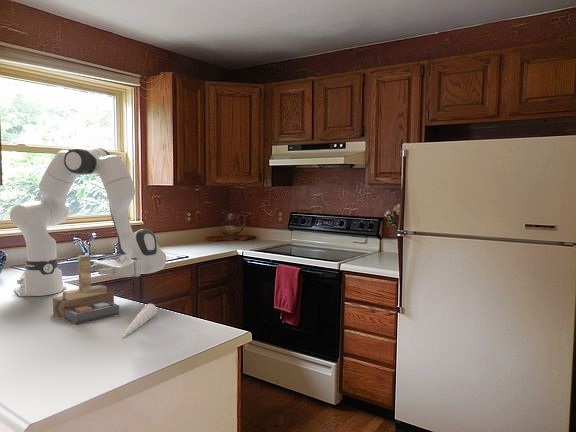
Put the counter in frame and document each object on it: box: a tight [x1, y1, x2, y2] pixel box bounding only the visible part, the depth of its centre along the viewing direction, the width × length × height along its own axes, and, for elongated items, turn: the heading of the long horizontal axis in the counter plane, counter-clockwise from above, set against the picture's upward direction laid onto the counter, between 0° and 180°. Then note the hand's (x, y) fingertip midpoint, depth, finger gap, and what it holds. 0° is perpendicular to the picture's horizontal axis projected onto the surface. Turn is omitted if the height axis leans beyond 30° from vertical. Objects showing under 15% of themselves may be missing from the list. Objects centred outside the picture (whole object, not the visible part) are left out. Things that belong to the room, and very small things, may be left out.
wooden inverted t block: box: [62, 254, 108, 300], centre depth 160 cm, size 4×14×14 cm, turn 140°
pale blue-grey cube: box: [94, 302, 110, 310], centre depth 156 cm, size 4×4×3 cm
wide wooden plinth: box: [52, 290, 115, 320], centre depth 161 cm, size 9×18×6 cm, turn 140°
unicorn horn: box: [121, 303, 158, 339], centre depth 145 cm, size 5×24×5 cm, turn 173°
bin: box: [64, 301, 120, 326], centre depth 154 cm, size 9×15×4 cm, turn 140°
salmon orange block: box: [75, 306, 92, 313], centre depth 151 cm, size 4×4×3 cm
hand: (93, 270), depth 163 cm, fingers open, 8 cm apart
